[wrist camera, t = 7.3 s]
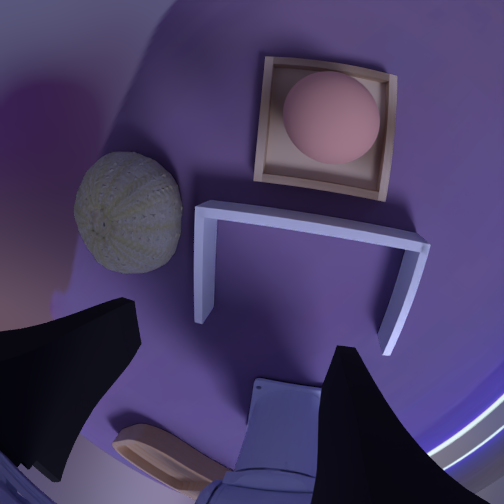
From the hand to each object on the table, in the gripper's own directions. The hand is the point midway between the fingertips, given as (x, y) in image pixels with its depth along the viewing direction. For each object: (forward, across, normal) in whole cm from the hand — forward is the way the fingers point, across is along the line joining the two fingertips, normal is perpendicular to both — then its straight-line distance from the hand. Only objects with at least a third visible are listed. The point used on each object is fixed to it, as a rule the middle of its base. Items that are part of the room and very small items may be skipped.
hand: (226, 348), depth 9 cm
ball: (+10, -2, -9) cm, 13 cm away
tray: (+10, -2, -8) cm, 14 cm away
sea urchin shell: (+11, +11, -2) cm, 15 cm away
